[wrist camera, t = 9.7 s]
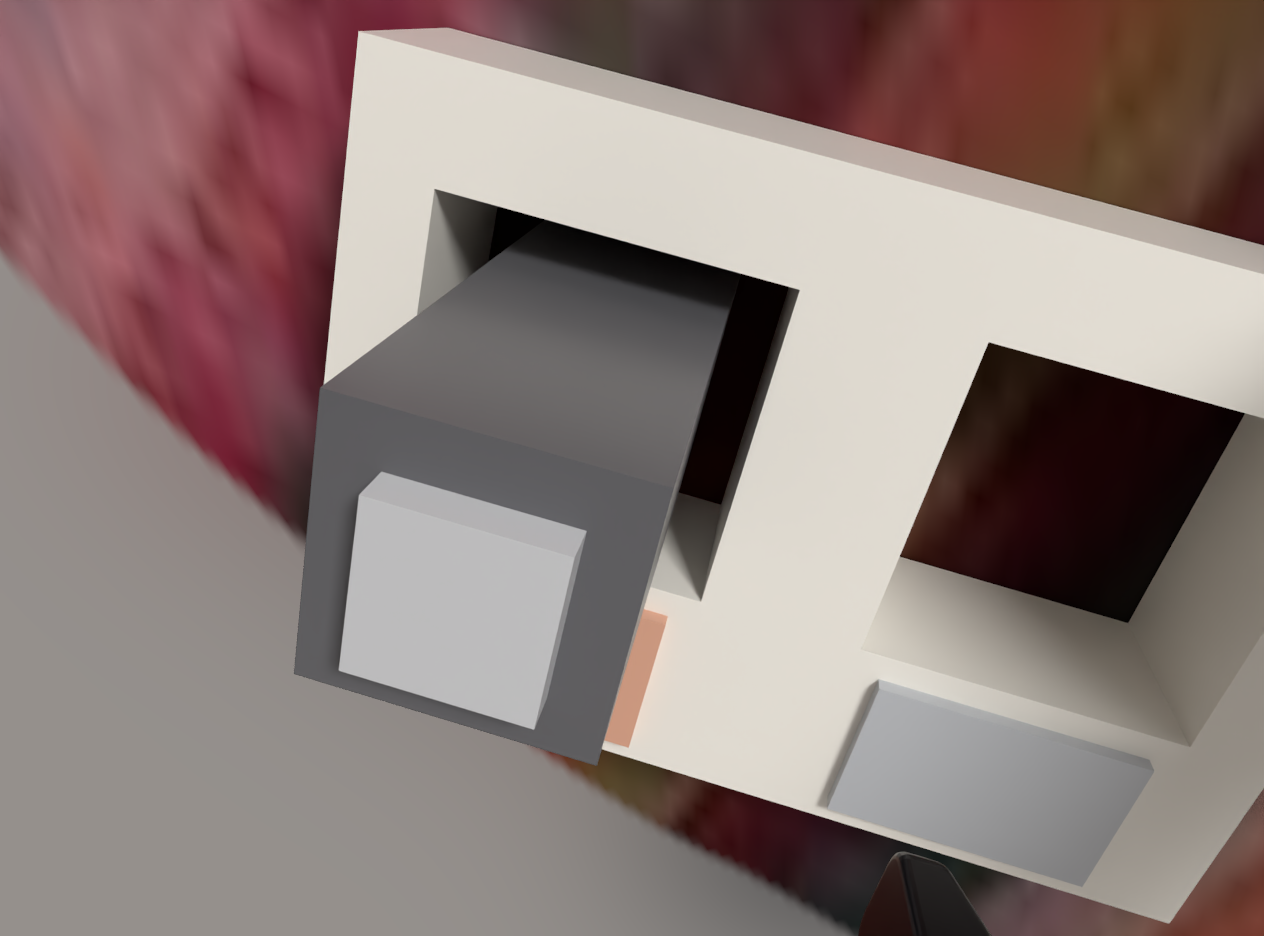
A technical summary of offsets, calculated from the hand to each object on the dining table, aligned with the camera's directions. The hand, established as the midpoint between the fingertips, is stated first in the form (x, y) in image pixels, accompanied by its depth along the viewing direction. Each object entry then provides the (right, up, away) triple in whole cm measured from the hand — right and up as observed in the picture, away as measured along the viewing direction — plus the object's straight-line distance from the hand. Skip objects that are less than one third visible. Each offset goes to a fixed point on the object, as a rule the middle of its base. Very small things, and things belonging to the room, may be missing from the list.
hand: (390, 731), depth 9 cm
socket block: (+6, +3, +12) cm, 14 cm away
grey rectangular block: (+2, +5, +12) cm, 13 cm away
